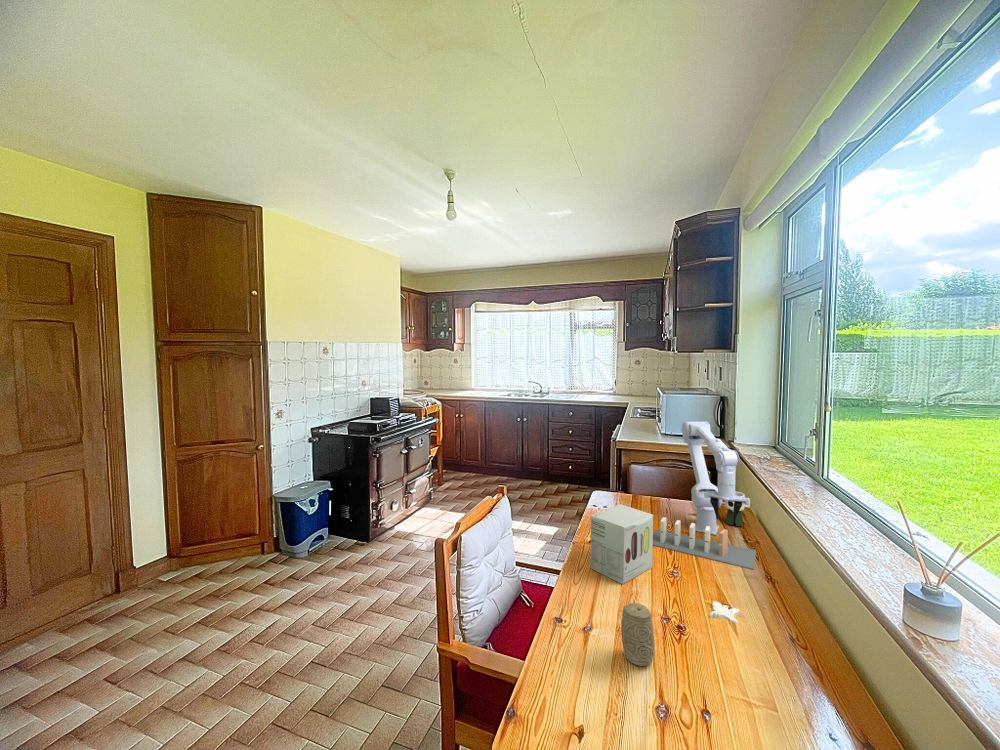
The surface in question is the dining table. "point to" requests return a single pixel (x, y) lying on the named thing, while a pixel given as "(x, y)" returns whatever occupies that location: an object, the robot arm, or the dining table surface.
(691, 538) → the tile
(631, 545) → the supplement box
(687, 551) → the mat
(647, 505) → the dining table surface
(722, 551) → the tile end
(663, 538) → the tile
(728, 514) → the character mug
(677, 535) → the tile
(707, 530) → the tile
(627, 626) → the carving
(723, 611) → the acanthus leaf ornament
